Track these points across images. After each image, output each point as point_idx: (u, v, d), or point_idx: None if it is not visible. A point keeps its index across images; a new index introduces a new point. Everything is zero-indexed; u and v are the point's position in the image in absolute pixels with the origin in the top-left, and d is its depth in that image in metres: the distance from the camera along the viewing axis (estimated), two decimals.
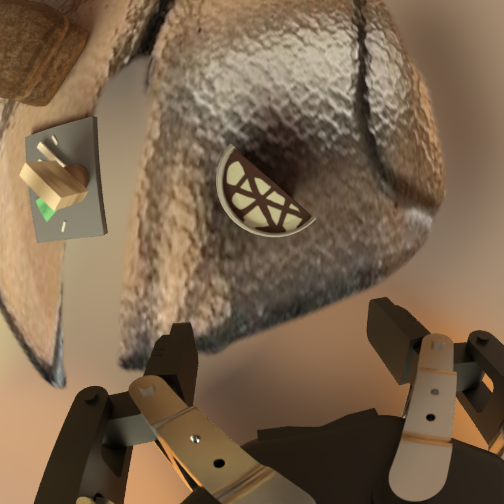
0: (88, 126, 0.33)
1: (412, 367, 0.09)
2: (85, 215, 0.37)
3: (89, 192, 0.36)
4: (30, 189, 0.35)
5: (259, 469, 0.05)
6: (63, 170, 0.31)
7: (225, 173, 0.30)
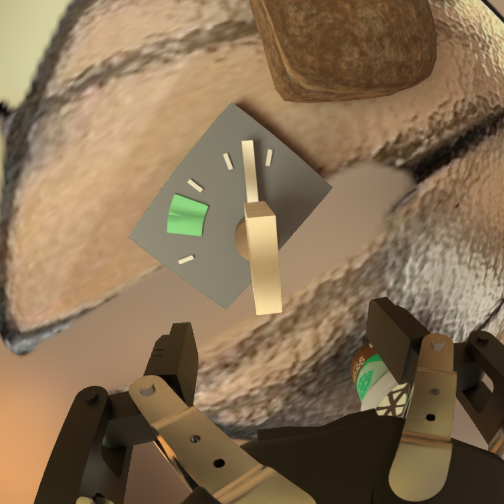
0: (319, 192, 0.29)
1: (412, 367, 0.09)
2: (225, 275, 0.31)
3: None
4: (178, 172, 0.27)
5: (259, 469, 0.05)
6: None
7: None
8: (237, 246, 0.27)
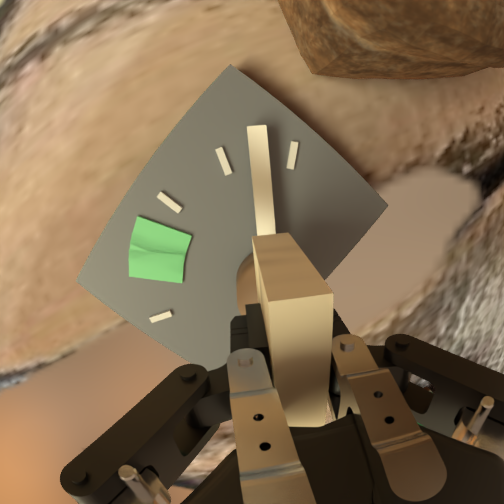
0: (368, 213, 0.18)
1: None
2: (221, 338, 0.20)
3: None
4: (142, 180, 0.16)
5: (294, 465, 0.05)
6: None
7: None
8: (240, 308, 0.16)
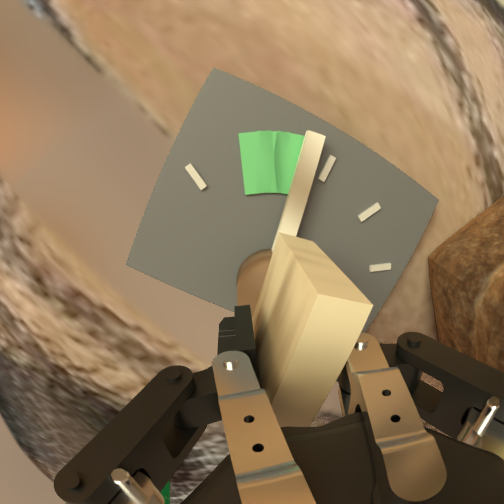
0: None
1: None
2: (185, 249, 0.17)
3: (225, 287, 0.18)
4: (342, 137, 0.16)
5: (289, 465, 0.05)
6: None
7: None
8: (239, 297, 0.15)
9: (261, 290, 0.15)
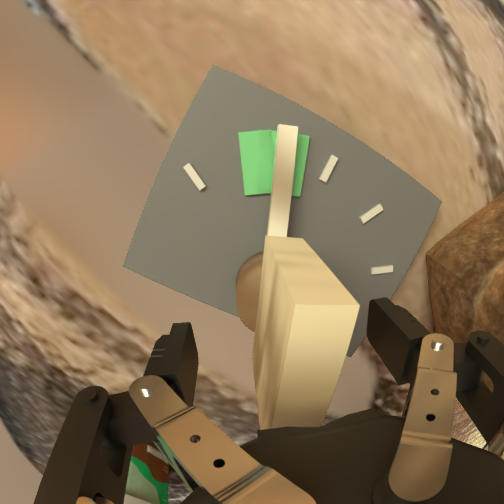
0: None
1: (412, 367, 0.09)
2: (183, 251, 0.17)
3: (224, 289, 0.18)
4: (344, 137, 0.16)
5: (259, 469, 0.05)
6: None
7: None
8: (239, 307, 0.15)
9: (259, 296, 0.15)
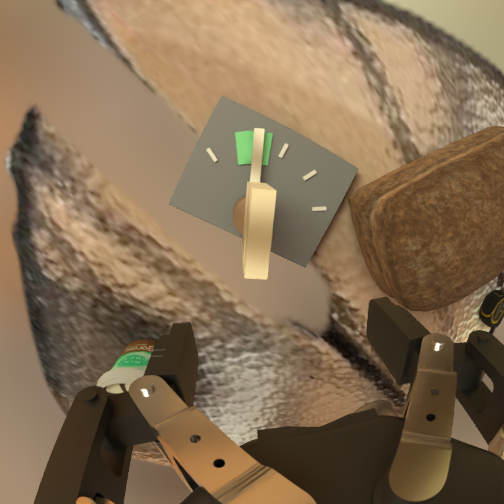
0: (298, 257, 0.34)
1: (412, 367, 0.09)
2: (204, 194, 0.31)
3: (226, 217, 0.32)
4: (292, 133, 0.30)
5: (259, 469, 0.05)
6: None
7: None
8: (234, 219, 0.29)
9: (244, 213, 0.29)
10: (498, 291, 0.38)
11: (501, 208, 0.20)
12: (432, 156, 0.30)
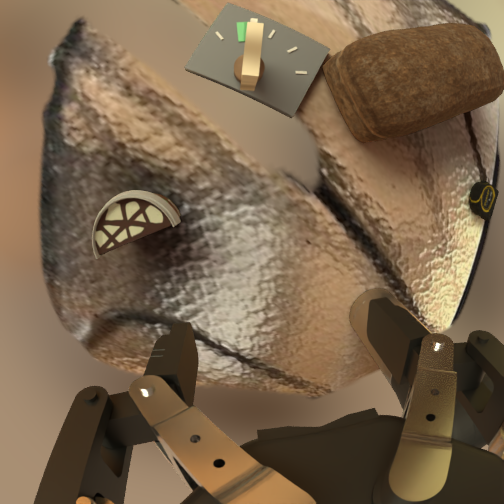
0: (286, 108, 0.38)
1: (412, 367, 0.09)
2: (212, 60, 0.35)
3: (228, 75, 0.36)
4: (278, 24, 0.34)
5: (259, 469, 0.05)
6: None
7: (157, 207, 0.33)
8: (234, 67, 0.33)
9: (242, 62, 0.33)
10: (482, 181, 0.42)
11: (436, 45, 0.23)
12: None
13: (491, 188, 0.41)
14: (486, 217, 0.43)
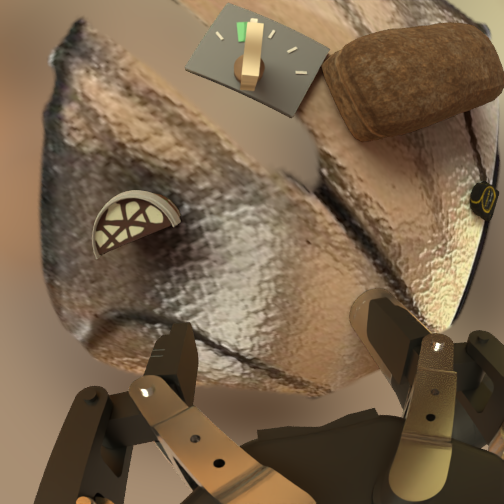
0: (286, 108, 0.38)
1: (412, 367, 0.09)
2: (212, 60, 0.35)
3: (228, 75, 0.36)
4: (278, 24, 0.34)
5: (259, 469, 0.05)
6: None
7: (157, 207, 0.33)
8: (235, 67, 0.33)
9: (242, 62, 0.33)
10: (483, 182, 0.42)
11: (435, 43, 0.23)
12: None
13: (492, 189, 0.41)
14: (487, 218, 0.43)
